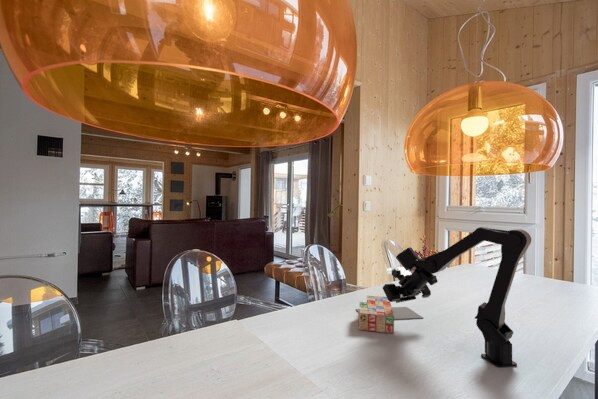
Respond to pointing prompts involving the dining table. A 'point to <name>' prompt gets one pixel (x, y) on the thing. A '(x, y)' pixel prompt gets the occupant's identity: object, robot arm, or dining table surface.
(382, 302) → the stack of blocks
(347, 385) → the dining table surface
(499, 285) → the robot arm
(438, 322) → the dining table surface
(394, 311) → the mat
